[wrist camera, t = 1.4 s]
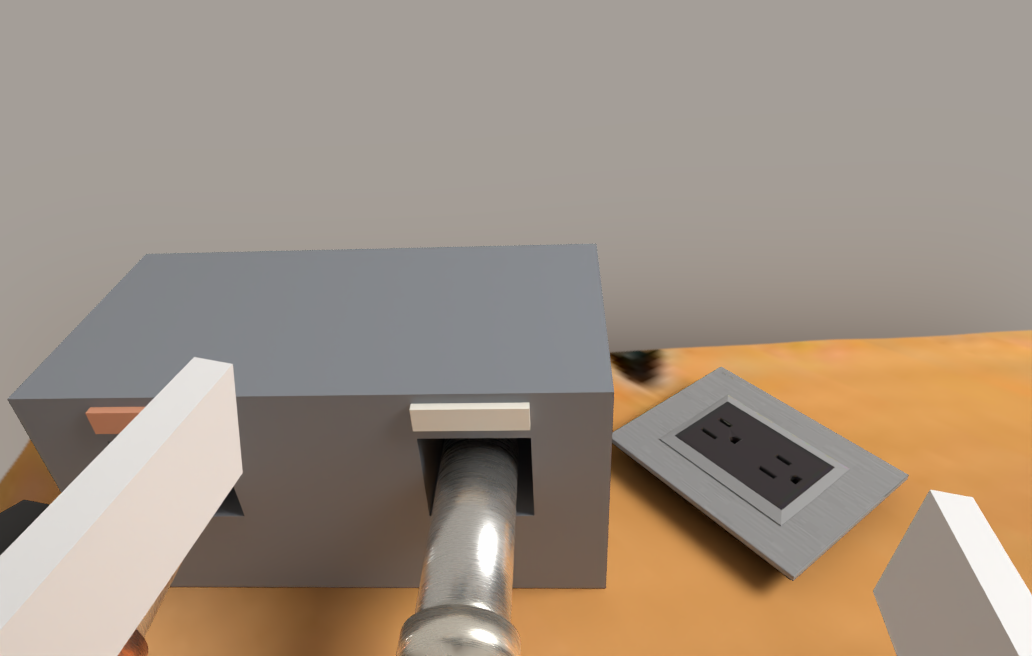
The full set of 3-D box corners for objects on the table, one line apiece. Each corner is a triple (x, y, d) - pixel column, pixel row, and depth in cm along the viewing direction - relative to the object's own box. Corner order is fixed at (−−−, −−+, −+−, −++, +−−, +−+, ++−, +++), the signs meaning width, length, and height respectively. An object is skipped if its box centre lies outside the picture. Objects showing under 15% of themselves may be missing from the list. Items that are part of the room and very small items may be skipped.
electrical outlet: (899, 500, 41) (910, 471, 40) (787, 603, 36) (795, 573, 35) (717, 390, 50) (721, 363, 49) (606, 460, 45) (607, 431, 44)
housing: (606, 594, 37) (614, 398, 29) (111, 593, 38) (1, 405, 31) (592, 418, 48) (596, 243, 40) (209, 422, 49) (146, 254, 42)
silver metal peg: (522, 714, 26) (516, 645, 24) (401, 713, 26) (383, 643, 24) (528, 479, 35) (525, 412, 33) (440, 480, 36) (430, 413, 33)
